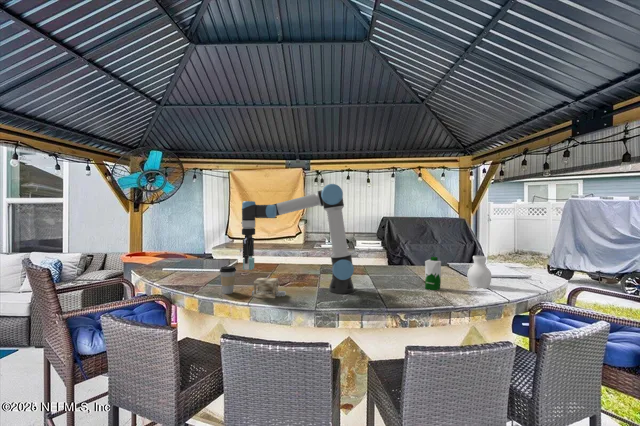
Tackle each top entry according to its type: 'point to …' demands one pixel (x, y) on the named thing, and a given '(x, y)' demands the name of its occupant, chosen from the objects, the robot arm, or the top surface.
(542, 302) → the top surface
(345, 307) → the top surface
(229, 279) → the coffee cup
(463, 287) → the top surface
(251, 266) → the block
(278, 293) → the rod
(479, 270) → the vase
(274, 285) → the tunnel
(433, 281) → the milk carton
